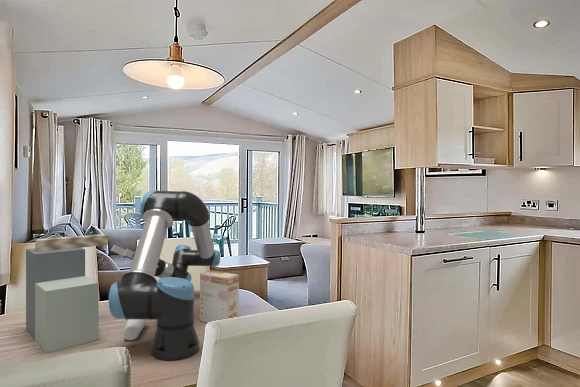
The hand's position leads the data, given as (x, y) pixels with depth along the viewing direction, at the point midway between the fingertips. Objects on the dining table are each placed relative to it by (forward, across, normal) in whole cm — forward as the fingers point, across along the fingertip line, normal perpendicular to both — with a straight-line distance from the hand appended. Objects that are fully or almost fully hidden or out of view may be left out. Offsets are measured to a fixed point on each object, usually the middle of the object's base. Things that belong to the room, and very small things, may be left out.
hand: (118, 249), depth 161 cm
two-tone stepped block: (+6, -7, -35) cm, 37 cm away
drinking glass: (-6, -30, -25) cm, 40 cm away
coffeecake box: (-36, -35, -11) cm, 52 cm away
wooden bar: (+16, 0, -6) cm, 17 cm away
